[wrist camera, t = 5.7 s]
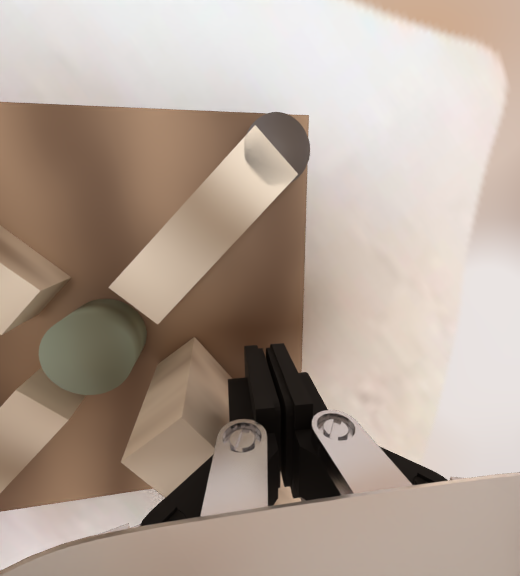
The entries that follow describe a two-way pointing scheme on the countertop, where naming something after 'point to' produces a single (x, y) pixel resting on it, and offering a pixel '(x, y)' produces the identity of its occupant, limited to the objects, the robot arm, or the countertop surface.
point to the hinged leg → (182, 420)
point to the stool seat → (133, 272)
